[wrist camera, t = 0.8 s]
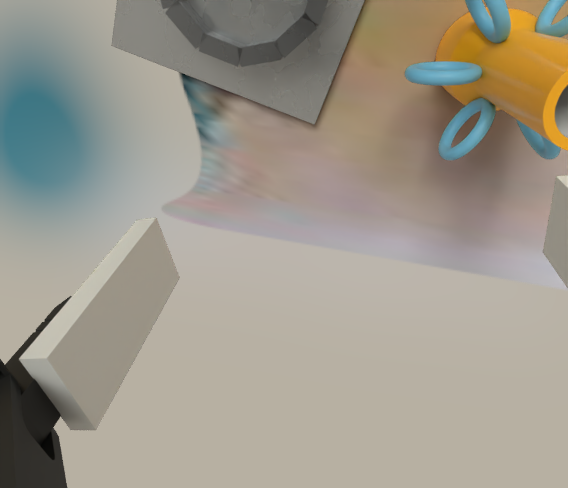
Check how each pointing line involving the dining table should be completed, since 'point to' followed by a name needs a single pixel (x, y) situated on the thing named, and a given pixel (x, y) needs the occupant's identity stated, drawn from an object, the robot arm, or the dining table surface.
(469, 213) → the dining table surface
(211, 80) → the duct plate
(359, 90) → the dining table surface
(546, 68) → the cylinder
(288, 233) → the dining table surface
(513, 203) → the dining table surface
